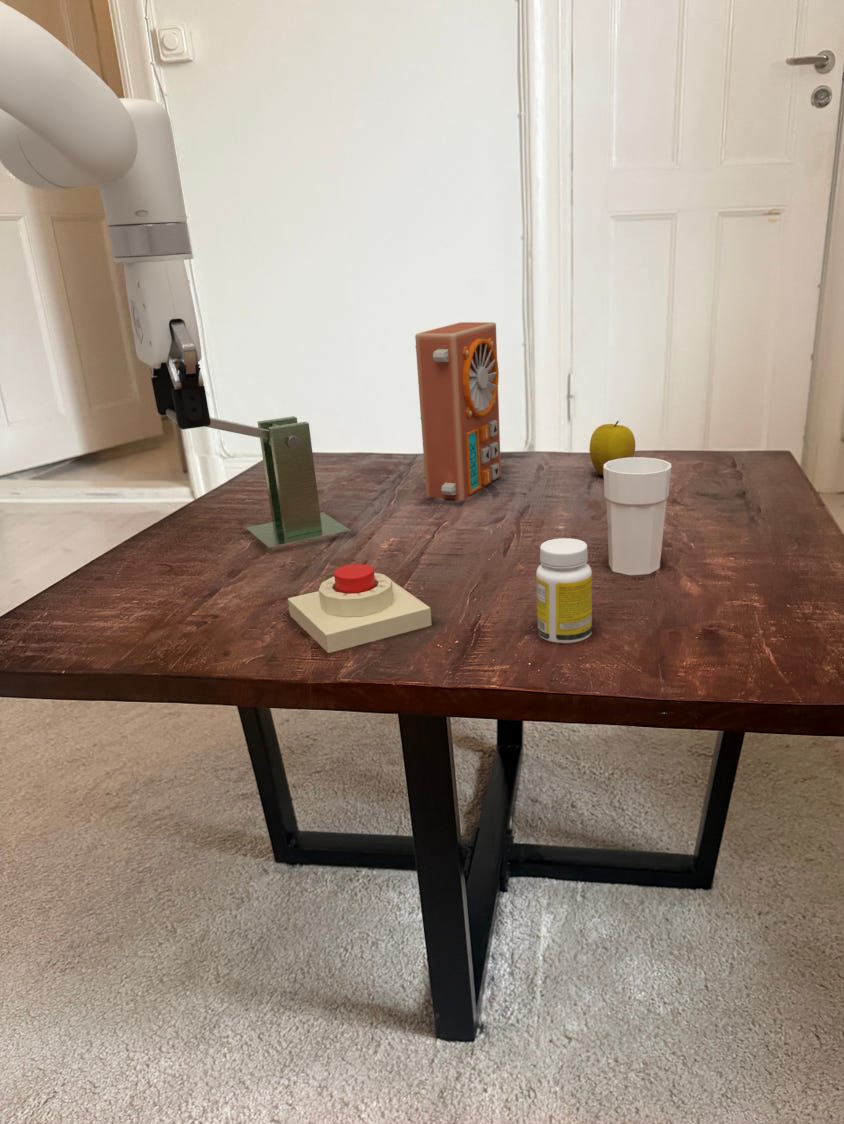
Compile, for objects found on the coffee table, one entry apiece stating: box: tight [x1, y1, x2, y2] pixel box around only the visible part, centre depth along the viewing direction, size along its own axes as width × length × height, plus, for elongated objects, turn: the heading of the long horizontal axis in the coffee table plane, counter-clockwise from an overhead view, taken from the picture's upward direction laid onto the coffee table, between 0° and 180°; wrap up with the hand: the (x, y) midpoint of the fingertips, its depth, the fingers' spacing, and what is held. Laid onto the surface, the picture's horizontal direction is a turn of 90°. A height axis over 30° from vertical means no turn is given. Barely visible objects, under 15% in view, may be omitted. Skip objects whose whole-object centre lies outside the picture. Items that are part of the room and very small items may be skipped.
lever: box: [165, 406, 280, 445], centre depth 99 cm, size 14×5×2 cm, turn 120°
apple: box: [589, 420, 636, 477], centre depth 124 cm, size 6×6×8 cm
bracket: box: [245, 415, 351, 548], centre depth 104 cm, size 10×9×14 cm
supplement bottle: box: [535, 537, 593, 644], centre depth 77 cm, size 5×5×8 cm
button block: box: [287, 572, 433, 654], centre depth 82 cm, size 10×10×4 cm
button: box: [333, 563, 376, 594], centre depth 81 cm, size 4×4×2 cm
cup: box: [603, 456, 672, 576], centre depth 90 cm, size 7×7×11 cm
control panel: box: [414, 321, 502, 501], centre depth 116 cm, size 21×7×15 cm
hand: (183, 419), depth 96 cm, fingers open, 9 cm apart
